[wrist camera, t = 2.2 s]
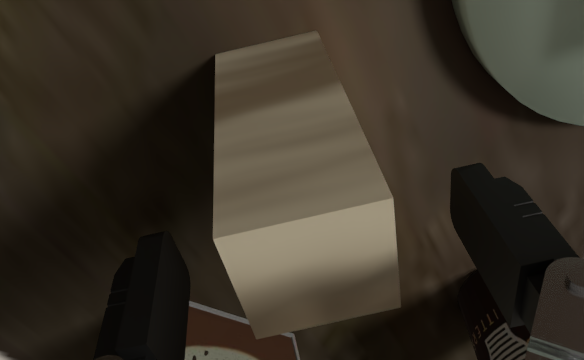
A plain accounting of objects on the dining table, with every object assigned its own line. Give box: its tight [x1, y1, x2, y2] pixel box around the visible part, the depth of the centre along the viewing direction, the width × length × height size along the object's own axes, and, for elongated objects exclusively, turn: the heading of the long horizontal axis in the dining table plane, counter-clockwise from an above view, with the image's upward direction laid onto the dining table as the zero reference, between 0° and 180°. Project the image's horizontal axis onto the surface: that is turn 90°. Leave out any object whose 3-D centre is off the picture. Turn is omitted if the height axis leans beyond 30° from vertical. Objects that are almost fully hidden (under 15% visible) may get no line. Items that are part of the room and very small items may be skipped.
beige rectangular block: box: [213, 30, 401, 339], centre depth 15 cm, size 4×4×10 cm
